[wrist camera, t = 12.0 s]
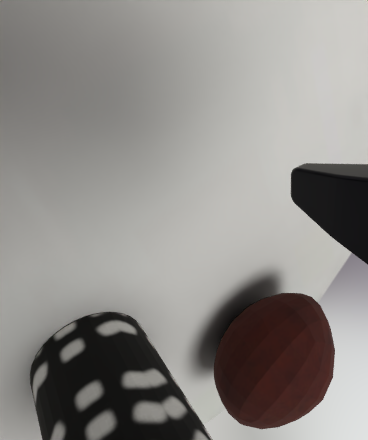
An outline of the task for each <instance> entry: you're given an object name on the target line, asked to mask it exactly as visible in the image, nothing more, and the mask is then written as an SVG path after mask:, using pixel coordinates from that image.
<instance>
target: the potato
mask: <svg viewBox="0 0 368 440" xmlns="http://www.w3.org/2000/svg"><path fill="white" fill-rule="evenodd" d="M334 355H335V348H334V344H333V338H332V333H331V329H330V326H329V323H328V320H327V319H326V316H325V314H324V312H323V310H322V308H321V306H320V305H319V304H318V303H317V302H316V301H315V300H314V299H313V298H312V297H310V296H307V295H304V294H299V293H281V294H278V295H274V296H271V297H267V298H264V299H262V300H260V301H258V302H256V303H254V304H252V305H250V306H248V307H247V308H246V309H245V310H244V311H243V312H242V313H241V314H240V315H239V316H237V317H236V318H235V319H234V320H233V321H232V322H231V324H230V326H229V327H228V329H227V330H226V332H225V334H224V335H223V337H222V339H221V342H220V344H219V347H218V349H217V353H216V358H215V363H214V379H215V385H216V388H217V391H218V393H219V396H220V398H221V401H222V403H223V405H224V406H225V408H226V410H227V411H228V413H229V414H230V415H231V416H232V417H233V418H234V419H236V420H237V421H238V422H239V423H240V424H243V425H246V426H250V427H255V428H259V429H266V428H275V427H280V426H282V425H285V424H288V423H290V422H293V421H296V420H297V419H299V418H301V417H302V416H304V415H306V414H307V413H309V412H310V411H311V410H312V409H313V408H314V407H316V405H318V404H319V403H320V402H321V401H322V400H323V398H324V396H325V394H326V391H327V389H328V387H329V385H330V382H331V380H332V378H333V368H334Z"/></svg>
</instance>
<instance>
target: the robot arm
mask: <svg viewBox="0 0 368 440" xmlns="http://www.w3.org/2000/svg"><path fill="white" fill-rule="evenodd" d="M291 197H292V200H293V201H294V203H295V204H296V205H297V206H298V207H299V208H300V209H302V210H303V211H304V212H305V213H306V214H307V215H308V216H309V217H310V218H311V219H312V220H314V221H315V222H316V223H317V224H318V225H319V226H320V227H321V228H322V229H323V230H324V231H325V232H327V233H328V234H329V235H330V236H331V237H332V238H334V239H335V240H336V241H337V242H339V243H340V244H341V245H343V246H344V247H345V248H347V249H348V250H349V251H351V252H352V253H353V254H355V255H356V256H357V257H359V258H360V259H361V260H363V261H364V262H365V263H367V264H368V164H311V163H306V164H303V165H300V166H298V167H296V168H294V169H293V170H292V173H291Z"/></svg>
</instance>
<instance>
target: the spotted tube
mask: <svg viewBox="0 0 368 440" xmlns="http://www.w3.org/2000/svg"><path fill="white" fill-rule="evenodd" d="M30 384H31V388H32V393H33V398H34V402H35V407H36V412H37V416H38V421H39V425H40V430H41V435H42V439H43V440H213V439H212V438H211V436H210V435H209V433H208V432H207V430H206V428H205V427H204V425H203V424H202V422H201V421H200V419H199V417H198V416H197V414H196V413H195V411H194V409H193V408H192V406H191V405H190V403H189V402H188V400H187V398H186V397H185V395H184V394H183V392H182V391H181V389H180V387H179V386H178V384H177V383H176V381H175V379H174V378H173V376H172V375H171V373H170V372H169V370H168V368H167V367H166V365H165V364H164V362H163V360H162V359H161V357H160V356H159V354H158V353H157V351H156V349H155V348H154V346H153V345H152V343H151V342H150V340H149V338H148V337H147V335H146V334H145V332H144V330H143V329H142V327H141V326H140V325H139V324H138V322H137V321H136V320H134V319H133V318H131V317H130V316H127V315H124V314H121V313H112V312H109V313H98V314H94V315H90V316H87V317H84V318H82V319H79V320H77V321H75V322H73V323H71V324H69V325H68V326H66V327H64V328H63V329H61V330H60V331H59V332H57V333H56V334H55V335H53V336H52V337H51V338H50V339H49V340H48V341H47V342H46V343H45V344H44V346H43V347H42V348H41V350H40V351H39V353H38V354H37V355H36V358H35V360H34V362H33V364H32V367H31V372H30Z"/></svg>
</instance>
